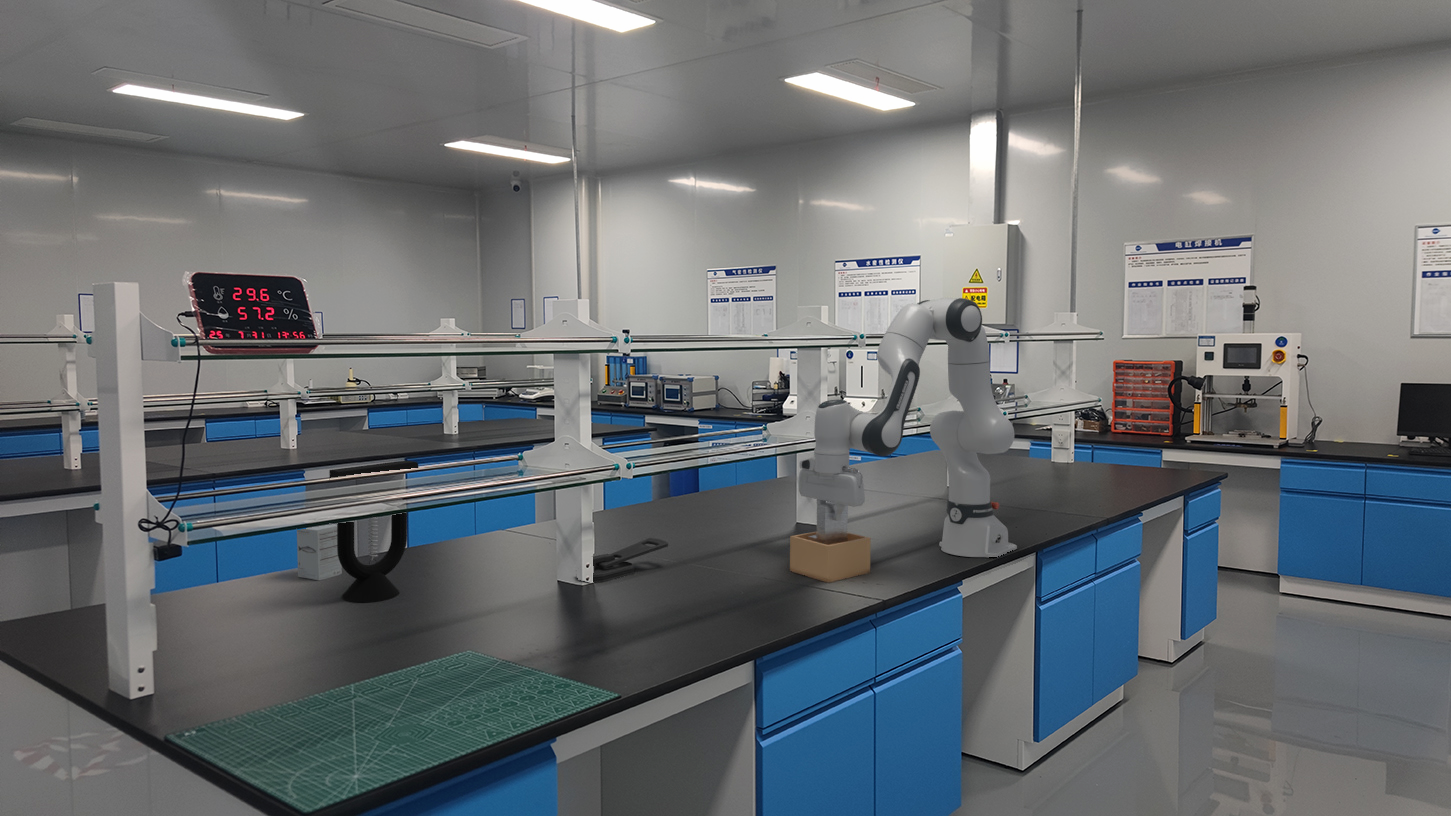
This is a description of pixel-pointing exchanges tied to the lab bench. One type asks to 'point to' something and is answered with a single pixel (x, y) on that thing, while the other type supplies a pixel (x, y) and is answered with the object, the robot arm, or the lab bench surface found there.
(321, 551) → the supplement box
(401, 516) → the spring support
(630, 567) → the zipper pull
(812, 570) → the open box
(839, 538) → the aluminium bracket
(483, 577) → the lab bench surface
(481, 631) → the lab bench surface
